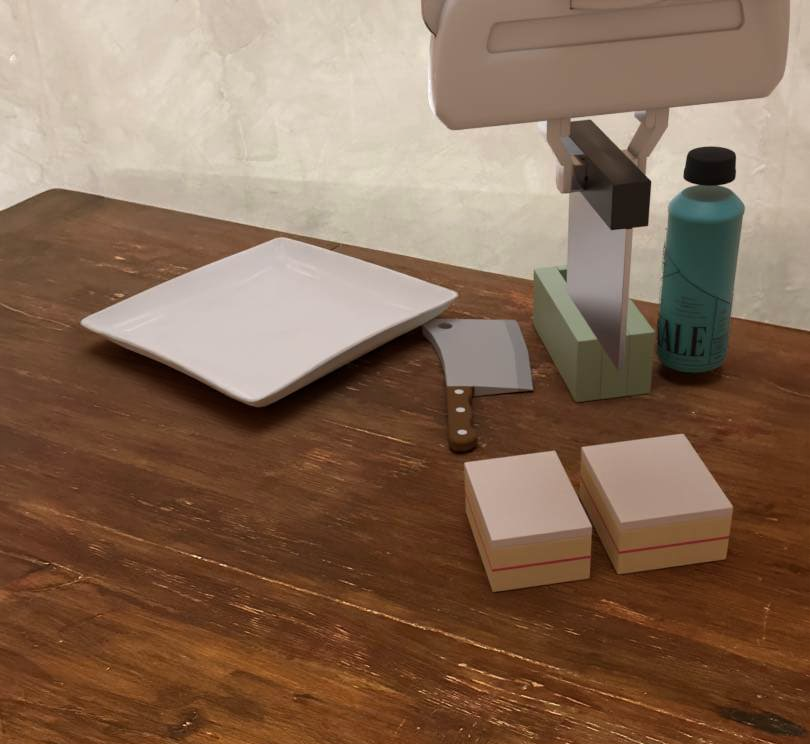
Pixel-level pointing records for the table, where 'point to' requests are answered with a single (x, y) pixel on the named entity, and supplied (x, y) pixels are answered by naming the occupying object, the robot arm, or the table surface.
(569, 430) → the table surface
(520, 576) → the cake slice
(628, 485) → the cake
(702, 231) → the beverage bottle
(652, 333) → the cutter stand
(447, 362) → the kitchen cleaver
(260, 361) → the square plate
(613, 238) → the cake cutter
